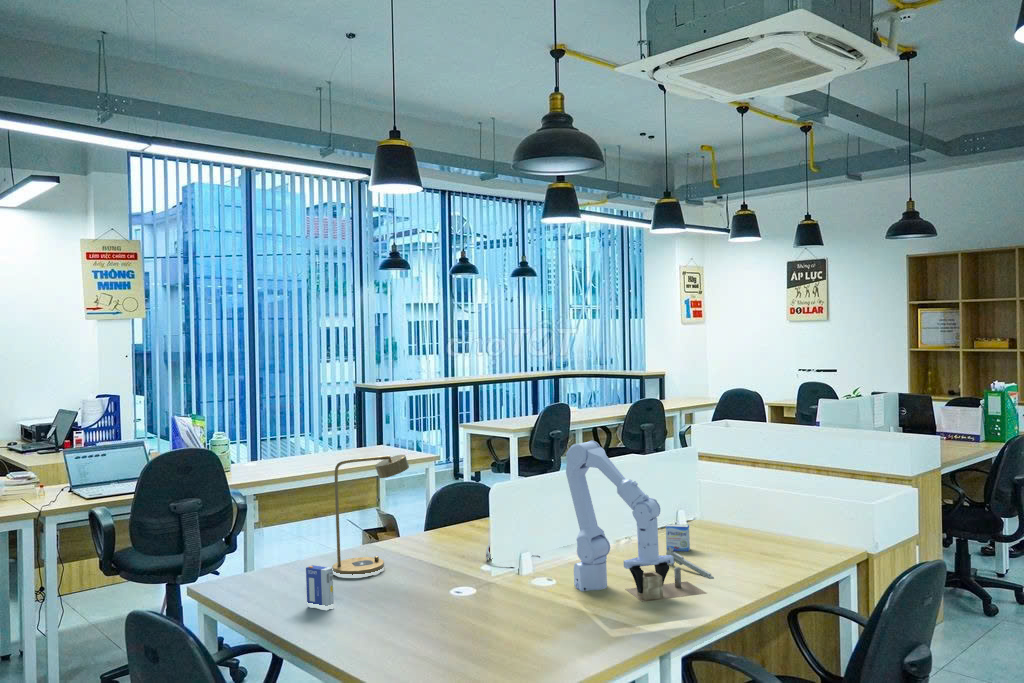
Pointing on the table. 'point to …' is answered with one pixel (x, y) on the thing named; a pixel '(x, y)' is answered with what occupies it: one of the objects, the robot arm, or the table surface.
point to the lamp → (348, 566)
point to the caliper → (687, 563)
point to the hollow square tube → (651, 586)
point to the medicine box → (677, 537)
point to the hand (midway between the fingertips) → (649, 591)
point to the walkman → (319, 585)
